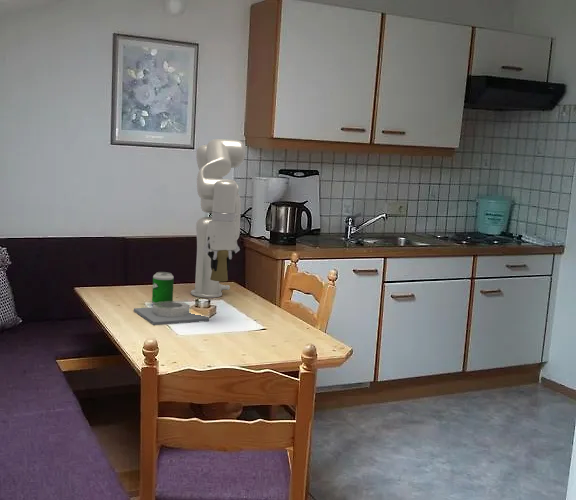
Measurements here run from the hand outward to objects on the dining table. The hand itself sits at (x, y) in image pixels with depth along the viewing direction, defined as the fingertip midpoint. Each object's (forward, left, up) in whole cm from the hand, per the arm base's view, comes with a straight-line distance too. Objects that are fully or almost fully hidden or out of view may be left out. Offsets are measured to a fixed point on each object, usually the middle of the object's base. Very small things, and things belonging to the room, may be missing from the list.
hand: (220, 269), depth 244 cm
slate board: (+13, -10, -18) cm, 24 cm away
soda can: (+10, -26, -18) cm, 33 cm away
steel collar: (+13, -10, -18) cm, 24 cm away
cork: (0, 0, -4) cm, 4 cm away
